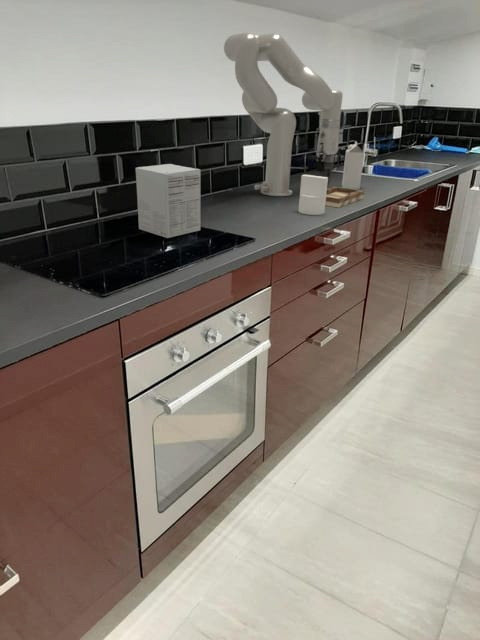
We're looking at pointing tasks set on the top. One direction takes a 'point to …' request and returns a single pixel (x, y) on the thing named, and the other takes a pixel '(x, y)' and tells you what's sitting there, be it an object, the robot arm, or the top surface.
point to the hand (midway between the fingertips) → (324, 169)
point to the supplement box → (168, 199)
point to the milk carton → (353, 167)
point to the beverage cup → (327, 168)
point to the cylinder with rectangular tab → (313, 194)
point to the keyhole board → (342, 196)
